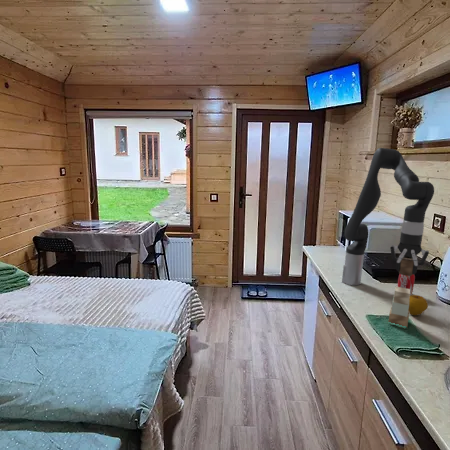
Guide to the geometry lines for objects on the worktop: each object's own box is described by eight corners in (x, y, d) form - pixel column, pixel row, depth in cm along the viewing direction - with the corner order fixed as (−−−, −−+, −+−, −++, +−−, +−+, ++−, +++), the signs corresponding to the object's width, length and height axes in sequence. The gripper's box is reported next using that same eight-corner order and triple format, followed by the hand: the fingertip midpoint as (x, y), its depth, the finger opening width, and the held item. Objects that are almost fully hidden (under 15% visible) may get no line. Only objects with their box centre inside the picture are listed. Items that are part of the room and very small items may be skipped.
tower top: (393, 302, 135) (394, 290, 134) (393, 297, 139) (395, 286, 138) (408, 305, 132) (410, 293, 131) (408, 300, 137) (410, 289, 136)
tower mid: (390, 313, 136) (392, 302, 135) (391, 307, 141) (393, 296, 140) (407, 317, 133) (409, 305, 132) (407, 311, 138) (409, 300, 137)
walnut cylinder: (398, 274, 132) (400, 260, 131) (399, 270, 136) (401, 257, 135) (411, 276, 130) (414, 262, 129) (412, 273, 134) (414, 259, 133)
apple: (425, 321, 140) (429, 302, 138) (402, 315, 144) (405, 296, 142) (426, 313, 147) (429, 294, 145) (403, 307, 152) (406, 290, 150)
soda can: (414, 297, 164) (417, 274, 161) (399, 295, 165) (402, 273, 162) (409, 291, 170) (412, 270, 168) (394, 290, 172) (397, 268, 169)
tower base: (387, 324, 137) (389, 313, 136) (389, 317, 143) (391, 306, 141) (406, 329, 133) (408, 318, 132) (407, 322, 139) (409, 311, 138)
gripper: (390, 231, 130) (385, 271, 134) (433, 236, 123) (426, 279, 126) (392, 227, 136) (387, 266, 140) (433, 232, 129) (426, 273, 132)
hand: (405, 272), depth 133 cm, fingers closed on walnut cylinder, 4 cm apart
